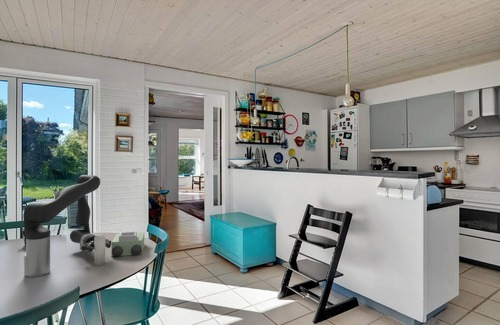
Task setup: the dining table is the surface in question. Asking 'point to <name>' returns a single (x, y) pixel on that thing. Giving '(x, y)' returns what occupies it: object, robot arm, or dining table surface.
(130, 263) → the dining table surface
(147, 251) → the dining table surface
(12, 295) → the dining table surface
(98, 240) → the spout tube
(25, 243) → the coffee mug
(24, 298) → the dining table surface
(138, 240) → the pale green toy car
